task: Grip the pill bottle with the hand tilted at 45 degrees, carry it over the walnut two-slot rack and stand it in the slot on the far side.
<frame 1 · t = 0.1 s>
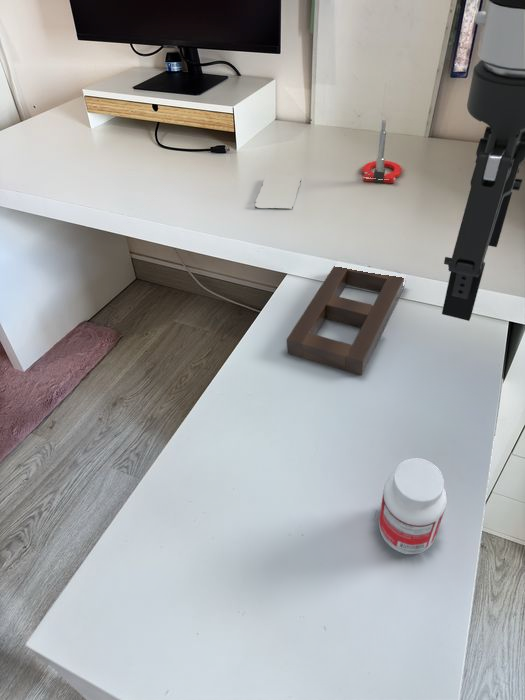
hand: (471, 276, 55), 20 cm above the table, tool pointing down, fingers open, 13 cm apart
pill bottle: (406, 529, 56), on the table
rack: (348, 318, 81), on the table
tow hook: (381, 174, 112), on the table
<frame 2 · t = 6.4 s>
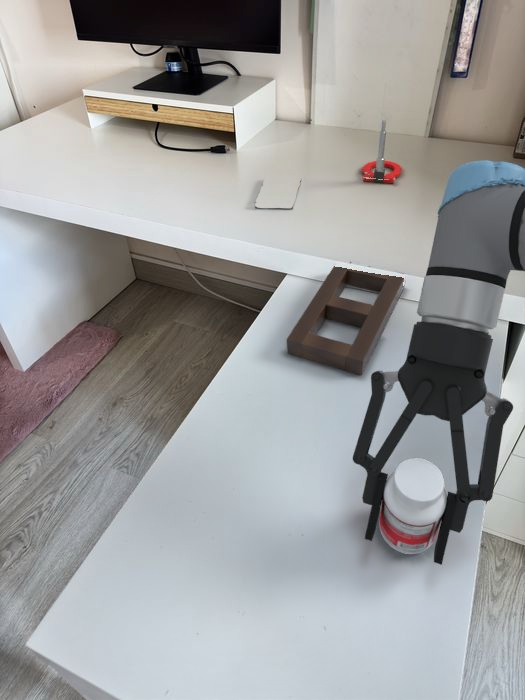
hand: (403, 546, 52), 3 cm above the table, tool tilted 45°, fingers closed on pill bottle, 6 cm apart
pill bottle: (406, 529, 56), on the table, touching gripper
everything else where it was.
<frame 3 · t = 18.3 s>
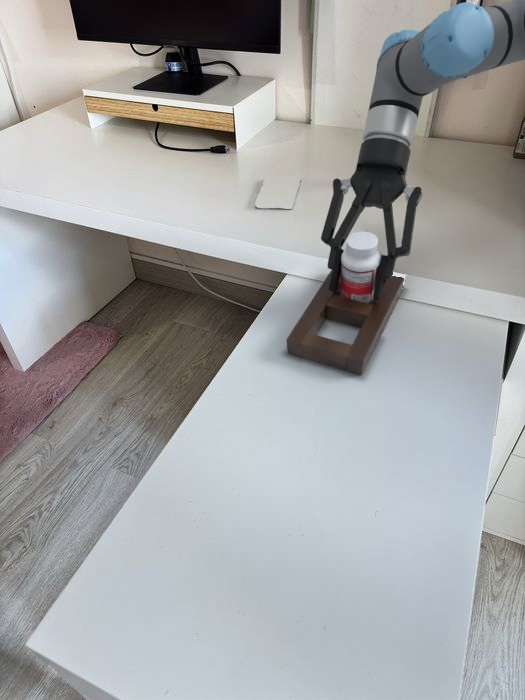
hand: (354, 294, 78), 4 cm above the table, tool tilted 45°, fingers closed on pill bottle, 6 cm apart
pill bottle: (359, 297, 83), point 1 cm above the table, touching gripper
everything else where it was.
when the fingers open (4 cm above the table, at t = 18.3 s): pill bottle stays where it is, resting in rack.
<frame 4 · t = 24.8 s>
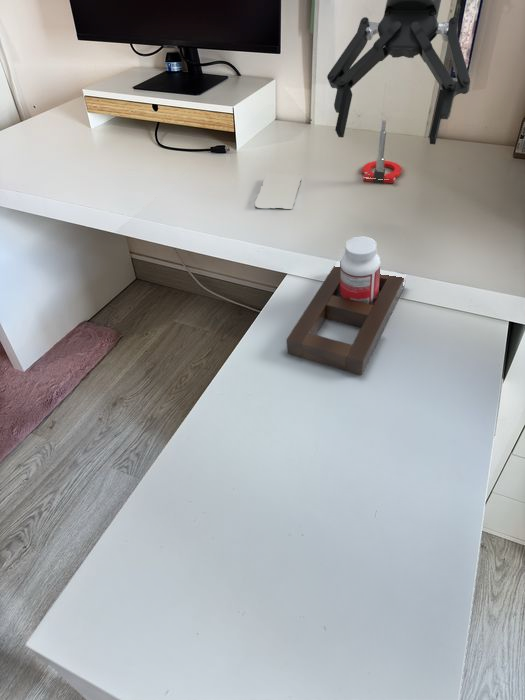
hand: (384, 137, 74), 23 cm above the table, tool tilted 45°, fingers open, 13 cm apart
pill bottle: (358, 301, 84), resting in rack
everything else where it was.
at the end: pill bottle 0.0 cm from the target spot in the rack, point 0.0 cm above the rack's base; pill bottle tilted 1°; the gripper is holding nothing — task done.
